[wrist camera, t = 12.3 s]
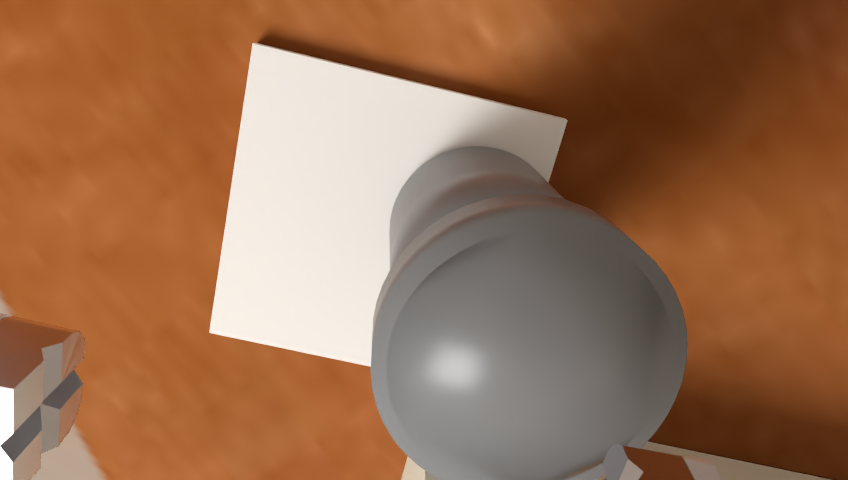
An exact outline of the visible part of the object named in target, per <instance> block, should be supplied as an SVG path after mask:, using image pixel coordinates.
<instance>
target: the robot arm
mask: <svg viewBox="0 0 848 480" xmlns="http://www.w3.org/2000/svg"><path fill="white" fill-rule="evenodd" d="M84 345H85V338H84V337H83V335H82V334H81V332H80V331H75V330H71V329H67V328H62V327H58V326H54V325H49V324H45V323H41V322H36V321H32V320H27V319H23V318H19V317H14V316H9V315H6V314H0V480H30V479H32V477H33V476H34V475H35V474H36V473H37V471H38V470H39V469H40V465H41V453H44V452H46V451H48V450H51V449H53V448H55V447H58V445H59V444H60V443H61V442H62V441H63V439H64V438H65V437H66V435H67V434H68V433H69V431H70V429H71V427H72V425H73V423H74V421H75V418H76V416H77V414H78V411H79V407H80V403H81V398H82V387H83V383H82V382H81V380H80V378H79V377H78V375H77V374H76V372H75V371H74V368H75V367H76V366H77V365H78V364H79V363H80V362H81V361H82V360H83V359H84ZM602 465H603V468H604V470H605V473H606V476H607V477H606V478H605V479H603V480H723V479H722V477H721V475H720V474H719V472H718V470H717V469H716V467H715V465H713V464H712V463H711V462H709V461H708V460H705V459H699V458H693V457H687V456H682V455H672V454H667V453H662V452H657V451H651V450H646V449H641V448H636V447H630V446H625V445H620V444H615V443H614V444H613V446H612V447H611V448H610V449H609V450H608V452H607V454H606V456H605V459H604V461H603V463H602Z"/></svg>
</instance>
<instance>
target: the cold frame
mask: <svg viewBox="0 0 848 480" xmlns="http://www.w3.org/2000/svg"><path fill="white" fill-rule="evenodd" d="M641 449H646V450H651V451H657V452H662V453H667V454H672V455H682V456H687V457H693V458H699V459H705V460H708V461H709V462H711V463H712V464H713V465H715V467H716V469H717V470H718V472H719V474H720V475H721V477H722V479H723V480H831V479H826V478H821V477H817V476H812V475H807V474H802V473H797V472H793V471H788V470H783V469H778V468H773V467H768V466H764V465H759V464H754V463H749V462H744V461H739V460H735V459H730V458H725V457H720V456H715V455H710V454H706V453H701V452H696V451H691V450H686V449H682V448H677V447H672V446H667V445H662V444H657V443H653V442H648V441H647V442H646V444H645V445H644V446H643V447H642V448H641ZM606 477H607V476H606V474H605V475H603V476H602V477H600V478H598V479H596V480H603V479H605V478H606ZM401 480H440V479H438V478H436V477H434V476H432V475H431V474H429V473H428V472H427V471H425V470H424V469H422V468H421V467H420V466H418V465H417V464H416V463H415V462H414V461H413V460H412V459H410V458H409V457H407V460H406V464H405V468H404V471H403V475H402V479H401Z"/></svg>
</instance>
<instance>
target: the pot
mask: <svg viewBox="0 0 848 480" xmlns="http://www.w3.org/2000/svg"><path fill="white" fill-rule="evenodd" d="M389 235H390V271H389V273H388V275H387V277H386V279H385V281H384V283H383V285H382V288H381V290H380V293H379V296H378V299H377V302H376V307H375V312H374V317H373V331H372V352H371V380H372V390H373V394H374V398H375V402H376V406H377V409H378V411H379V413H380V416H381V418H382V421H383V423H384V425H385V426H386V428H387V430H388V431H389V433H390V435H391V436H392V438H393V440H394V441H395V442H396V443H397V444H398V446H399V447H400V448H401V449H402V451H403V452H404V453H405V454H406V455H407V456H408V457H409V458H410V459H412V460H413V461H414V462H415V463H416V464H417V465H418V466H420V467H421V468H422V469H424V470H425V471H427V472H428V473H429V474H431V475H432V476H434V477H436V478H438V479H440V480H596V479H598V478H600V477H602V476H603V475H605V474H606V473H605V470H604V468H603V465H602V463H603V461H604V459H605V456H606V454H607V452H608V450H609V449H610V448H611V447H612V446H613V444H614V443H615V444H620V445H625V446H630V447H636V448H642V447H643V446H644V445H645V444H646V442H647V441H648V440H649V439H650V438H651V437H652V436H653V435H654V433H655V432H656V431H657V430H658V428H659V427H660V425H661V424H662V422H663V421H664V420H665V418H666V417H667V415H668V413H669V411H670V409H671V407H672V405H673V403H674V402H675V400H676V397H677V394H678V392H679V389H680V386H681V384H682V380H683V375H684V371H685V367H686V358H687V330H686V324H685V319H684V315H683V310H682V307H681V305H680V302H679V299H678V297H677V294H676V292H675V290H674V288H673V287H672V285H671V283H670V281H669V280H668V278H667V276H666V275H665V274H664V272H663V271H662V270H661V268H660V267H659V266H658V265H657V263H656V262H655V261H654V260H653V259H652V258H651V257H650V256H649V255H648V254H647V253H645V252H644V251H643V250H642V249H641V248H640V247H639V246H638V245H637V244H636V243H635V242H633V241H632V240H631V239H630V238H629V237H628V236H627V235H626V234H625V233H624V232H622V231H621V230H620V229H619V228H618V227H617V226H616V225H615V224H614V223H612V222H611V221H609V220H608V219H606V218H605V217H603V216H602V215H600V214H599V213H597V212H595V211H593V210H591V209H589V208H587V207H585V206H583V205H580V204H577V203H574V202H571V201H568V200H565V199H564V198H563V197H562V196H561V195H560V194H559V193H558V192H557V191H556V190H555V189H554V188H553V187H552V186H551V185H550V184H549V183H548V182H547V181H546V180H545V179H544V178H543V177H542V176H541V175H540V174H539V173H538V172H537V171H536V170H535V169H534V168H533V167H532V166H531V165H530V164H529V163H527V162H526V161H524V160H523V159H521V158H520V157H518V156H516V155H514V154H512V153H510V152H507V151H504V150H501V149H497V148H492V147H483V146H472V147H463V148H458V149H453V150H450V151H447V152H444V153H442V154H440V155H438V156H436V157H434V158H432V159H430V160H429V161H427V162H426V163H424V164H423V165H422V166H421V167H419V168H418V169H417V170H416V171H415V172H414V173H413V174H412V175H411V176H410V177H409V179H408V180H407V181H406V182H405V184H404V185H403V187H402V188H401V190H400V192H399V194H398V196H397V198H396V200H395V203H394V206H393V209H392V213H391V218H390V230H389Z"/></svg>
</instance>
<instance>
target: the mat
mask: <svg viewBox="0 0 848 480" xmlns="http://www.w3.org/2000/svg"><path fill="white" fill-rule="evenodd" d="M567 121H568V120H566V119H565V118H561V117H557V116H553V115H549V114H545V113H541V112H537V111H533V110H529V109H525V108H521V107H517V106H512V105H508V104H504V103H500V102H496V101H492V100H488V99H484V98H480V97H476V96H472V95H468V94H464V93H459V92H455V91H451V90H447V89H443V88H439V87H435V86H431V85H427V84H423V83H419V82H415V81H411V80H406V79H402V78H398V77H394V76H390V75H386V74H382V73H378V72H374V71H370V70H366V69H362V68H358V67H353V66H349V65H345V64H341V63H337V62H333V61H329V60H325V59H321V58H317V57H313V56H309V55H305V54H300V53H296V52H292V51H288V50H284V49H280V48H276V47H272V46H268V45H264V44H260V43H253V45H252V51H251V58H250V65H249V71H248V78H247V85H246V91H245V98H244V105H243V111H242V118H241V125H240V131H239V138H238V145H237V151H236V158H235V165H234V171H233V178H232V185H231V191H230V198H229V205H228V211H227V218H226V225H225V231H224V238H223V245H222V251H221V258H220V265H219V271H218V278H217V285H216V291H215V298H214V305H213V311H212V318H211V325H210V331H209V333H213V334H217V335H222V336H227V337H232V338H237V339H241V340H246V341H251V342H256V343H260V344H265V345H270V346H275V347H280V348H284V349H289V350H294V351H299V352H303V353H308V354H313V355H318V356H323V357H327V358H332V359H337V360H342V361H346V362H351V363H356V364H361V365H366V366H370V367H371V352H372V331H373V317H374V312H375V307H376V302H377V299H378V296H379V293H380V290H381V288H382V285H383V283H384V281H385V279H386V277H387V275H388V273H389V271H390V235H389V230H390V218H391V213H392V209H393V206H394V203H395V200H396V198H397V196H398V194H399V192H400V190H401V188H402V187H403V185H404V184H405V182H406V181H407V180H408V179H409V177H410V176H411V175H412V174H413V173H414V172H415V171H416V170H417V169H418V168H419V167H421V166H422V165H423V164H424V163H426V162H427V161H429V160H430V159H432V158H434V157H436V156H438V155H440V154H442V153H444V152H447V151H450V150H453V149H458V148H463V147H472V146H483V147H492V148H497V149H501V150H504V151H507V152H510V153H512V154H514V155H516V156H518V157H520V158H521V159H523V160H524V161H526V162H527V163H529V164H530V165H531V166H532V167H533V168H534V169H535V170H536V171H537V172H538V173H539V174H540V175H541V176H542V177H543V178H544V179H545V180H546V181H547V182H548V183H549V179H550V176H551V173H552V170H553V166H554V163H555V160H556V157H557V153H558V150H559V147H560V144H561V140H562V137H563V134H564V131H565V127H566V124H567Z"/></svg>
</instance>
